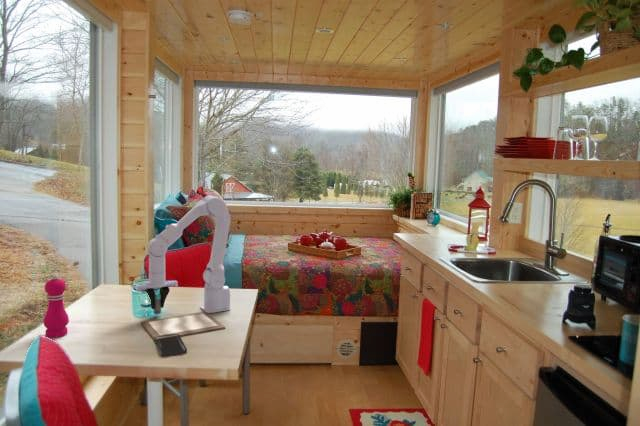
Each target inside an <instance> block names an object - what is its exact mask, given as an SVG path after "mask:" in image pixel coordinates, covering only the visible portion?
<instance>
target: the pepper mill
mask: <svg viewBox="0 0 640 426" xmlns="http://www.w3.org/2000/svg"><path fill="white" fill-rule="evenodd" d="M66 289H67V284H66V282H65V281H64V280H63V279H61V278H59V275H58V274H53V275H52V276H51V279H50V280H48V281H47V282H46V283H45V284H44V291H45V293H46V300H48V307H47V311H46V314H45V316H44V318H43V326H44V327H45V328H46V329H45V337H46V338H50V339H53V338H54V339H55V338H56V339H57V338H62V337H64V336H66V335H67V334H68V327H67V325H69V322H70V319H69V315H68V313H67V311H66V309H65V307H64V299H65V298H66V297H65V293H64V292H65V291H66Z"/></svg>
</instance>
